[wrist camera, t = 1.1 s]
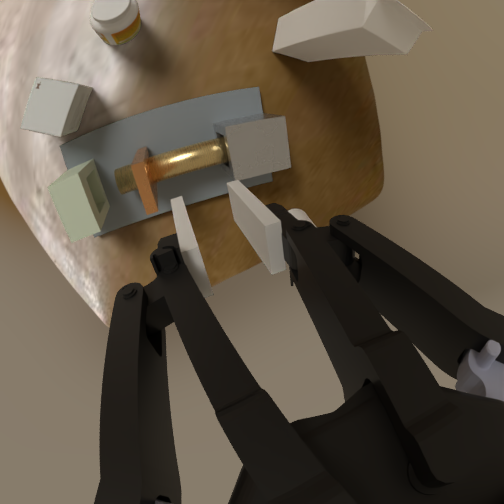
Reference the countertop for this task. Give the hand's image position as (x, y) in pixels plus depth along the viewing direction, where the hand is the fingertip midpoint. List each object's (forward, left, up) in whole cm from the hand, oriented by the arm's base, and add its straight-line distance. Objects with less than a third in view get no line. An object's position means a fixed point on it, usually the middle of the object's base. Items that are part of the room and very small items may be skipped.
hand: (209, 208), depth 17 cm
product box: (-12, -13, -21) cm, 27 cm away
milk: (-14, +19, -21) cm, 31 cm away
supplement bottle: (-20, -4, -21) cm, 29 cm away
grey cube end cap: (0, +8, -19) cm, 21 cm away
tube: (0, +2, -19) cm, 19 cm away
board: (0, -2, -21) cm, 21 cm away
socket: (0, -13, -19) cm, 23 cm away
